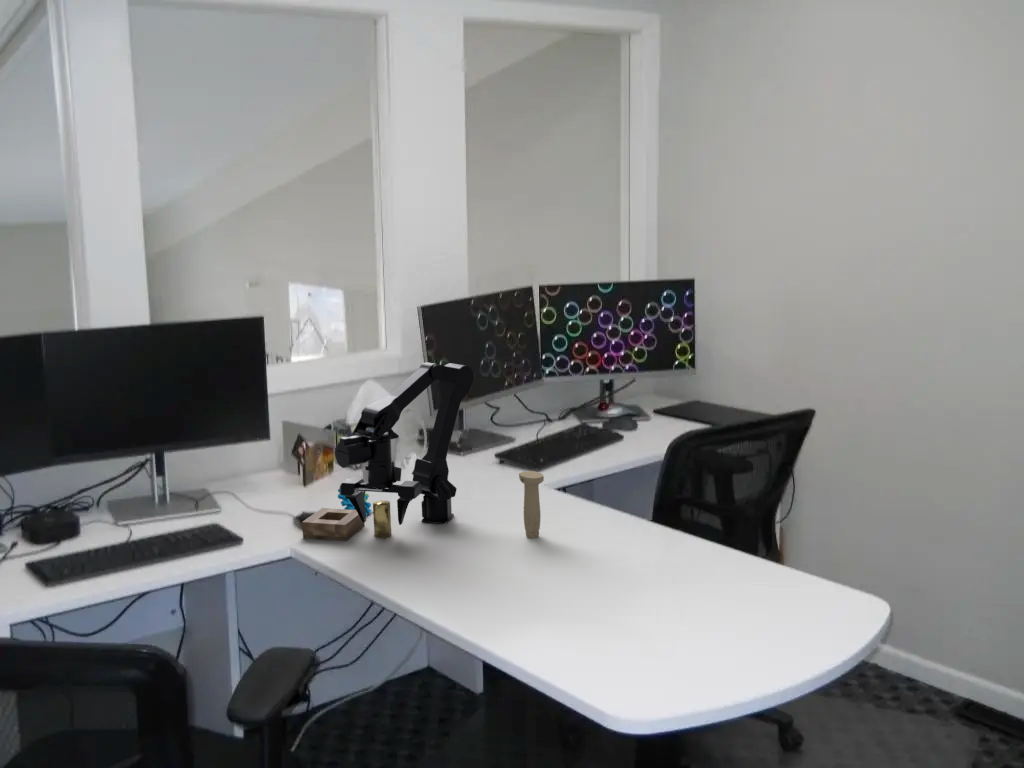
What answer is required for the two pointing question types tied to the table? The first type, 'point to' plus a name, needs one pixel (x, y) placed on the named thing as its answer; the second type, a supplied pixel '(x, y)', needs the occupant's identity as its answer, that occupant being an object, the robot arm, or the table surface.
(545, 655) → the table surface
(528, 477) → the handle
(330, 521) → the socket block
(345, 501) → the gear
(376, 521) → the pin
